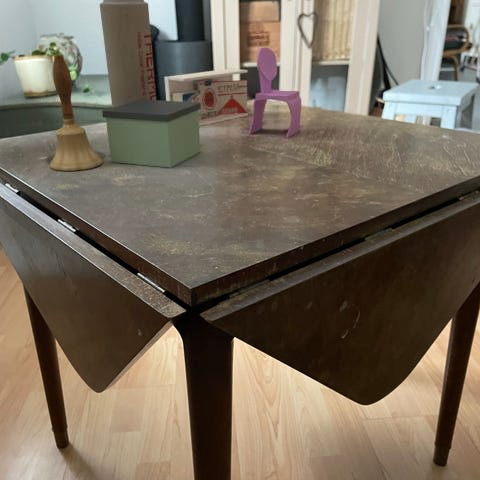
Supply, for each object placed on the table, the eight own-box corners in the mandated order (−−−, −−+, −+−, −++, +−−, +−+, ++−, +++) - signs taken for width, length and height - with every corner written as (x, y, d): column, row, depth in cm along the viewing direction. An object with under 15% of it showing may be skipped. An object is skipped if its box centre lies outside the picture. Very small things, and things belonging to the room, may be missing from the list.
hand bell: (40, 164, 87) (18, 55, 79) (85, 155, 92) (69, 51, 84) (66, 174, 82) (46, 59, 74) (112, 163, 87) (98, 54, 79)
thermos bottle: (168, 139, 102) (154, -38, 88) (140, 148, 96) (121, -40, 82) (136, 135, 106) (118, -36, 92) (107, 143, 100) (83, -38, 86)
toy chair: (288, 139, 101) (291, 50, 94) (245, 135, 105) (245, 49, 97) (303, 130, 108) (307, 46, 100) (262, 127, 111) (263, 45, 103)
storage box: (108, 162, 88) (101, 110, 84) (144, 146, 98) (139, 99, 93) (172, 168, 85) (167, 114, 81) (202, 151, 94) (200, 102, 90)
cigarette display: (185, 128, 110) (182, 78, 106) (168, 125, 114) (164, 76, 109) (251, 114, 123) (251, 69, 118) (234, 112, 126) (233, 68, 121)
